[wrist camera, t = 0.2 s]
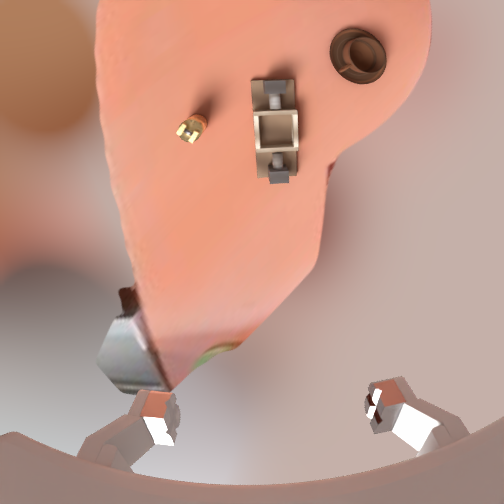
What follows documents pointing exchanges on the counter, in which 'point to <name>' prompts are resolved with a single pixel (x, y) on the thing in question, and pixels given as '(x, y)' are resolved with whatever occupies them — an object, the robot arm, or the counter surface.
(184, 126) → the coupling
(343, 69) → the cup and saucer
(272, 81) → the shaft stand
